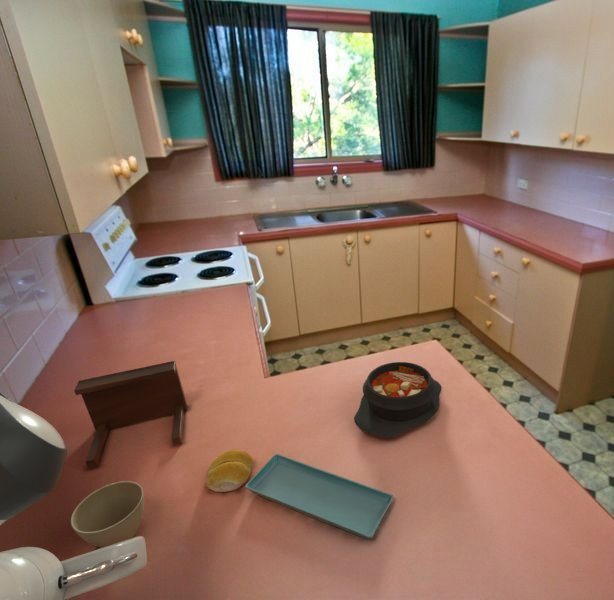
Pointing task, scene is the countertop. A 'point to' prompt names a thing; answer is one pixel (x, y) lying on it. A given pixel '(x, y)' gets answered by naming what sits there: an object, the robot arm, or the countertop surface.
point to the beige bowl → (109, 514)
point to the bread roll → (229, 471)
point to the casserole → (397, 399)
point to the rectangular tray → (321, 495)
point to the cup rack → (132, 402)
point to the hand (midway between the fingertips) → (66, 575)
